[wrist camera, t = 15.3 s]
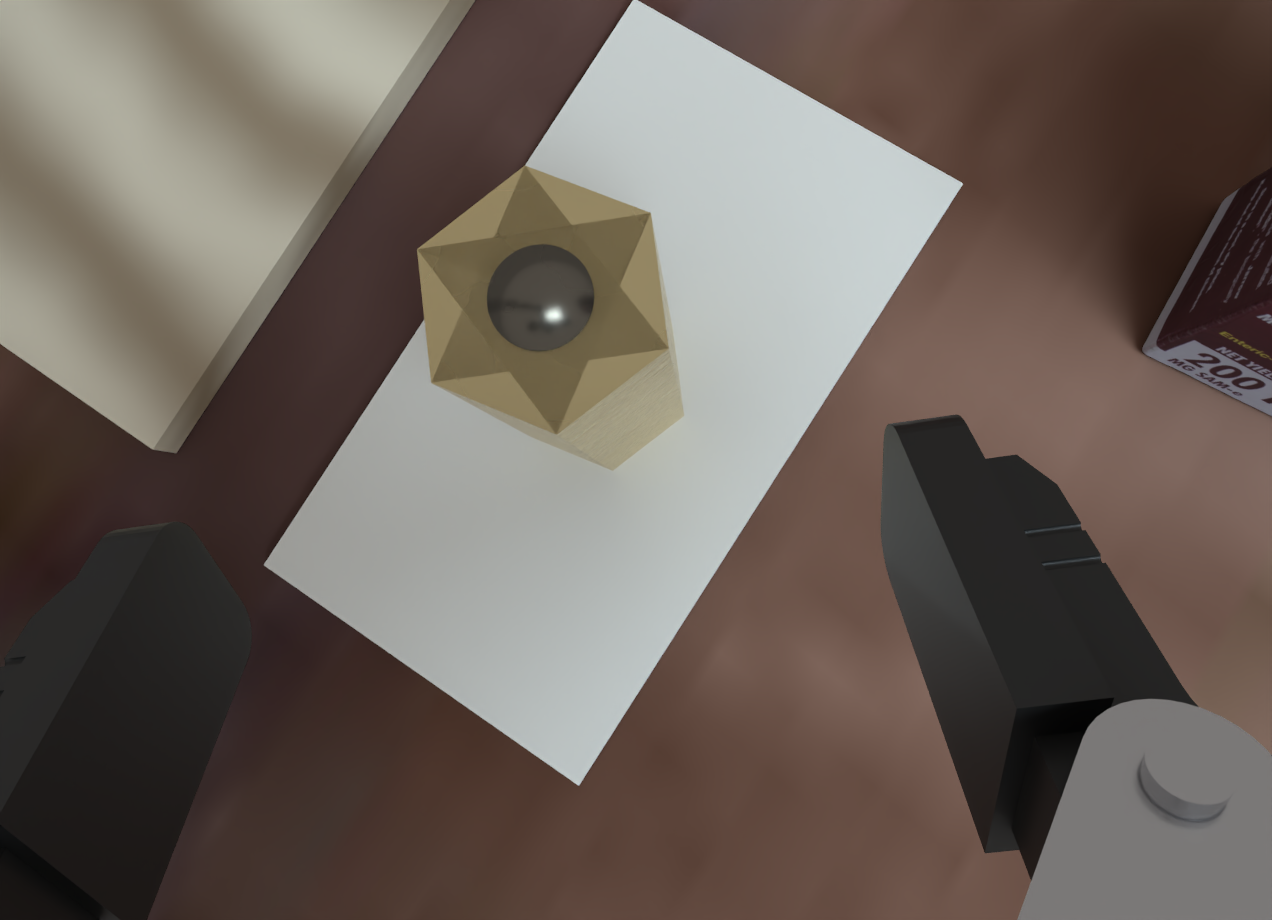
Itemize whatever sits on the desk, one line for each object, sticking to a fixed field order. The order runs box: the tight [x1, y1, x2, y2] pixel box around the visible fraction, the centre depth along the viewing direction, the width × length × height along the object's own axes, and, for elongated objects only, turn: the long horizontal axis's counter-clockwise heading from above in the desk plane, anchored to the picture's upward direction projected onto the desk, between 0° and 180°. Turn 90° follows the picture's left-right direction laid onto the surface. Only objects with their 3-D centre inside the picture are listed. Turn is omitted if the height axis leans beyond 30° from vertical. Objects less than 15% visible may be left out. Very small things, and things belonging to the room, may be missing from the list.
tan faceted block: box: [417, 166, 684, 471], centre depth 18 cm, size 5×4×8 cm
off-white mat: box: [264, 0, 963, 786], centre depth 22 cm, size 18×10×1 cm, turn 147°
